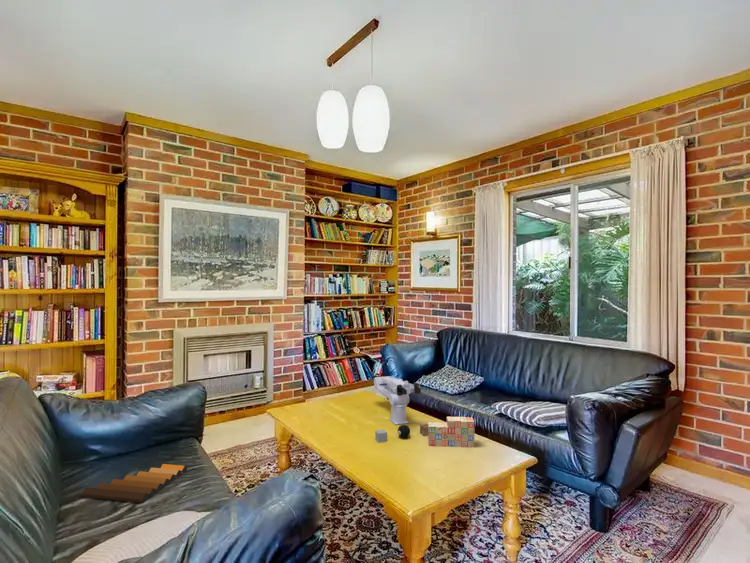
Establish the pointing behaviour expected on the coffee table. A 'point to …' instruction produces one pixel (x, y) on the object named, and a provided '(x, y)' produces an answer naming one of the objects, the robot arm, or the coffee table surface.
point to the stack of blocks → (452, 432)
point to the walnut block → (424, 429)
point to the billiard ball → (403, 431)
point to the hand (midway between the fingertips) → (413, 391)
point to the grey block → (381, 436)
